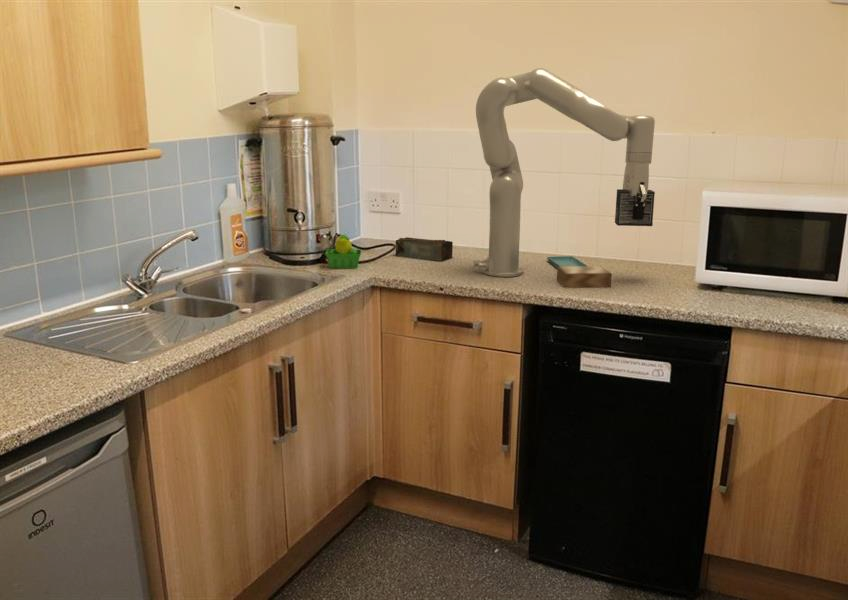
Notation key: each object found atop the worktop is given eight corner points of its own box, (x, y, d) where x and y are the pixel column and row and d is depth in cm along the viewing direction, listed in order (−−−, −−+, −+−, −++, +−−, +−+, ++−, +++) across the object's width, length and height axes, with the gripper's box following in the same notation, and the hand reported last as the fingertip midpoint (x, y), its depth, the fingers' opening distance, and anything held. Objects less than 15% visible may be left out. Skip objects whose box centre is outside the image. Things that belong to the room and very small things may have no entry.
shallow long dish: (546, 262, 271) (546, 255, 270) (571, 262, 272) (572, 254, 272) (568, 280, 246) (569, 272, 245) (597, 279, 247) (597, 271, 246)
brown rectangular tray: (564, 287, 234) (565, 273, 233) (556, 279, 244) (557, 266, 243) (610, 287, 235) (611, 272, 234) (601, 279, 245) (602, 265, 244)
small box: (648, 223, 244) (651, 189, 241) (652, 226, 238) (655, 191, 235) (614, 222, 245) (616, 188, 242) (616, 225, 239) (619, 190, 236)
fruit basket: (361, 264, 264) (361, 230, 262) (360, 270, 256) (360, 235, 253) (327, 264, 264) (326, 230, 261) (325, 270, 256) (324, 235, 253)
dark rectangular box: (406, 252, 284) (406, 234, 283) (453, 258, 275) (454, 240, 274) (394, 256, 278) (394, 238, 276) (443, 262, 269) (443, 243, 267)
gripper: (617, 155, 244) (612, 213, 249) (635, 160, 227) (630, 222, 232) (641, 155, 245) (636, 213, 249) (661, 160, 228) (655, 222, 233)
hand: (633, 216), depth 241 cm, fingers closed on small box, 6 cm apart
